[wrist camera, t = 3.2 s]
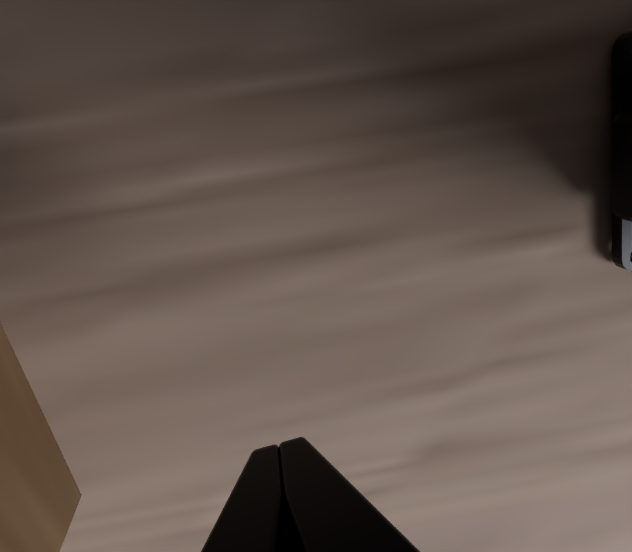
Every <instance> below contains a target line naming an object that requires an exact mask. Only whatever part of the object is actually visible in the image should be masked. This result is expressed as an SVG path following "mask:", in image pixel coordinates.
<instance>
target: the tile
mask: <svg viewBox="0 0 632 552" xmlns="http://www.w3.org/2000/svg"><path fill="white" fill-rule="evenodd" d="M80 498H81V493H80V491H79V489H78V487H77V485H76V482H75V480H74V478H73V476H72V474H71V472H70V470H69V468H68V465H67V463H66V461H65V459H64V457H63V455H62V453H61V451H60V448H59V446H58V444H57V442H56V440H55V438H54V436H53V433H52V431H51V429H50V427H49V425H48V423H47V421H46V419H45V416H44V414H43V412H42V410H41V408H40V406H39V404H38V402H37V399H36V397H35V395H34V393H33V391H32V389H31V387H30V385H29V382H28V380H27V378H26V376H25V374H24V372H23V370H22V367H21V365H20V363H19V361H18V359H17V357H16V355H15V353H14V350H13V348H12V346H11V344H10V342H9V340H8V338H7V336H6V333H5V331H4V329H3V327H2V325H1V323H0V552H59V551H60V549H61V546H62V544H63V541H64V539H65V536H66V534H67V531H68V528H69V526H70V523H71V521H72V518H73V516H74V513H75V511H76V508H77V505H78V503H79V500H80Z"/></svg>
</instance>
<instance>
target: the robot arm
mask: <svg viewBox="0 0 632 552" xmlns="http://www.w3.org/2000/svg"><path fill="white" fill-rule="evenodd" d="M611 122H612V125H611V167H612V258H613V262H614V263H615V264H616V266H619V267H621V268H623V269H626V270H628V271H631V272H632V258H630V254H631V252H632V30H631V31H628V32H626V33H623V34H622V35H621V36H620V37H619V38H618V39H617V40H616V42H615V44H614V46H613V48H612V54H611ZM201 552H420V551H419V550H418V549H417V548H416V547H415V546H414V545H413V544H412V543H411V542H410V541H409V540H408V539H407V538H406V537H405V536H404V535H403V534H402V533H401V532H400V531H399V530H397V529H396V528H395V527H394V526H393V525H392V524H391V523H390V522H389V521H388V520H387V519H386V518H385V517H384V516H383V515H382V514H381V513H380V512H379V511H378V510H377V509H376V508H375V507H374V506H373V505H372V504H371V503H370V502H369V501H368V500H367V499H366V498H365V497H364V496H363V495H362V494H361V493H360V492H359V491H358V490H357V489H356V488H355V487H354V486H353V485H352V484H351V483H350V482H349V481H348V480H347V479H346V478H345V477H344V476H343V475H342V474H341V473H340V472H339V471H338V470H337V469H336V468H335V467H334V466H333V465H332V464H331V463H330V462H329V461H327V460H326V459H325V458H324V457H323V456H322V455H321V454H320V453H319V452H318V451H317V450H316V449H315V448H314V447H313V446H312V445H311V444H310V443H309V442H308V441H307V440H306V439H305V438H303V437H299V438H295V439H292V440H288V441H285V442H282V443H281V444H280V446H279V447H278V446H277V445H271V446H267V447H263V448H260V449H256V450H254V451H253V452H252V454H251V455H250V457H249V459H248V461H247V463H246V465H245V467H244V469H243V471H242V473H241V475H240V477H239V479H238V481H237V483H236V485H235V487H234V489H233V491H232V492H231V494H230V496H229V498H228V500H227V502H226V504H225V506H224V508H223V510H222V512H221V514H220V516H219V518H218V520H217V522H216V524H215V526H214V528H213V529H212V531H211V533H210V535H209V537H208V539H207V541H206V543H205V545H204V547H203V549H202V551H201Z"/></svg>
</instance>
